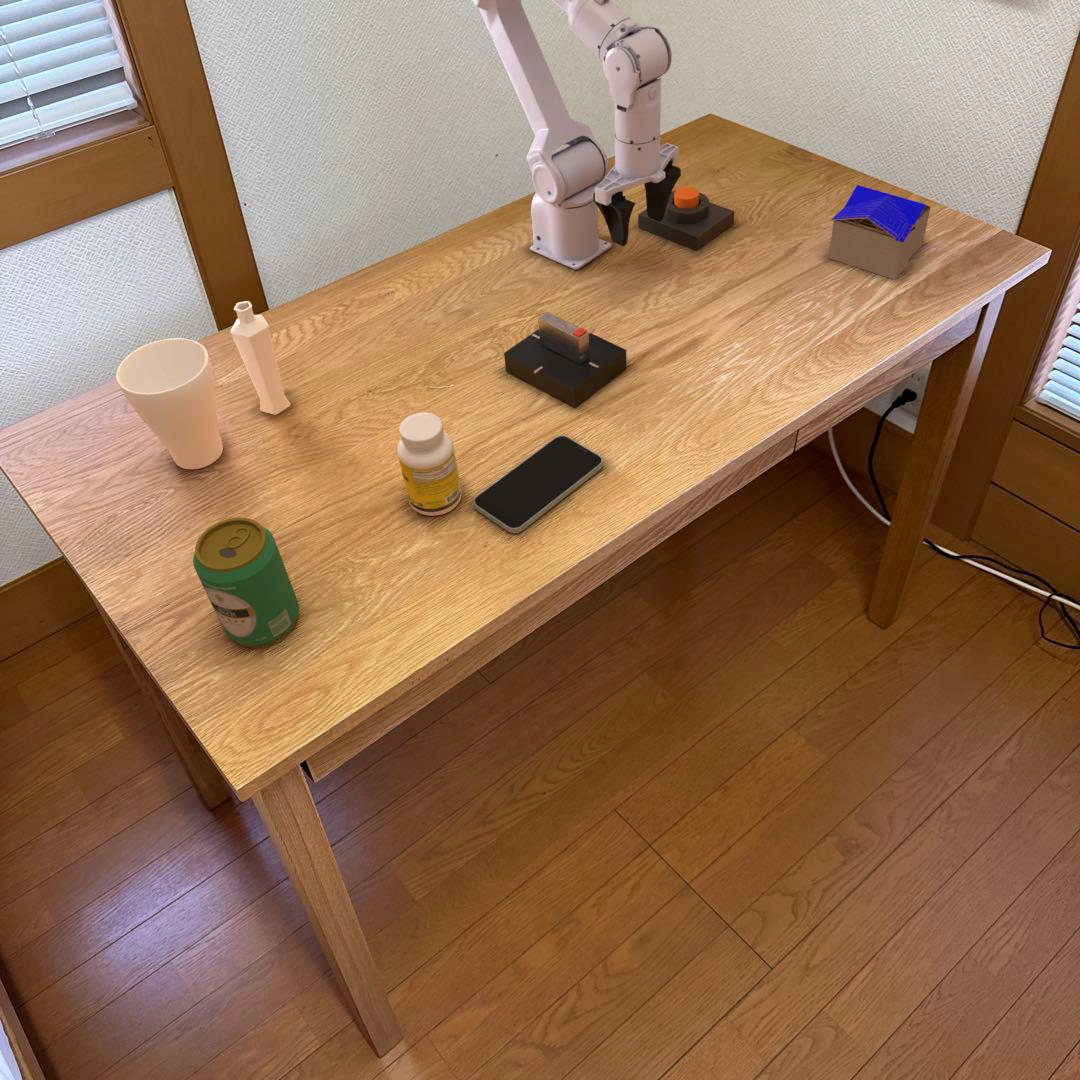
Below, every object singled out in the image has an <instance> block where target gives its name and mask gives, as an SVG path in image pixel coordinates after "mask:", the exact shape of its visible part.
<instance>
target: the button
mask: <svg viewBox="0 0 1080 1080" xmlns="http://www.w3.org/2000/svg"><path fill="white" fill-rule="evenodd" d="M675 190H676V191H675V193H674V205H675V207H678V208H680V209H692V208H696V207H697V206H698V205H699V193H700V191H699V190H698V189H697V188H695V187H692V186H684V187H679V188H677V189H675Z"/></svg>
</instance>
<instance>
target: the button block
mask: <svg viewBox="0 0 1080 1080" xmlns="http://www.w3.org/2000/svg"><path fill="white" fill-rule="evenodd" d="M676 190H677V189H673V190H672V192H671V195H670V197H669V200H668V204H667V207H666V211H665V214H664V217H663V220H662V221H661V222H658V221H656V220H653V219H651V218H648V214H647V208H646V209H644V210H642V211H641V212H640V213H638V214H637V218H638V219H637V228H638V229H641V230H644V231H646V232H649V233H651V234H653V235H656V236H660V238H664V239H666V240H669V241H671V242H674V243H676V244H678V245H681V246H683V247H686V248H689V249H690V250H694V251H699V250H700V249H702V248H703V247H705V246H706V245H707V244H709V243H710V242H711V241H714V239H716V238H717V237H718V236H720V235H721V234H723V233H724V232H725V231H727V230H728V229H729V228H731V227H732V226H733V225H734V223H735V210H732V209H730V208H727V207H724V206H722V205H719V204H717V203H713V202H711V201H710V199H709V197H707V195H706V194H705V193H702V192H699V205H698V206H697V207H696V208H692V209H680V208H678V207H675V205H674V193H675V191H676Z"/></svg>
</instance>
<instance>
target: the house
mask: <svg viewBox="0 0 1080 1080" xmlns="http://www.w3.org/2000/svg"><path fill="white" fill-rule="evenodd" d="M931 208H932V207H931V206H930V205H927V203H923V202H919V201H915V200H912V199H908V198H905V197H901V196H898V195H893V194H891V193H887V192H884V191H881V190H877V189H873V188H870V187H866V186H864V185H863V186H862V185H858V184H857V185H856V186H855V187H854V189H853V191H852V193H851V195H850V196H849V198H848V200H847V202H846V203H845V205H844V207H843V208H842V209H841V210H840V211H838V213H836V214H835V215H834V216H833V217H832V218H831V219H830V221H833V223H832V229H831V235H830V236H831V237H830V243H829V250H828V256H827V257H828V258H827V259H830V260H831V261H832V260H833V261H835V262H838V263H842V264H845V265H848V266H851V267H854V268H857V269H860V270H863V271H865V272H866V271H867V272H869V273H873V274H875V275H879V276H882V277H885V278H888V279H892V280H896V279H897V277H899V275H900V274H902V273H903V271H905V270H906V268H907V267H908V266H909V262H910V259H911V258H912V256H913V255H915V254H916V253H917V252H918V250H919V249H920V248H921V247H922V246H923V243H924V239H925V234H926V230H927V226H928V221H929V218H930V217H929V216H930V212H931Z"/></svg>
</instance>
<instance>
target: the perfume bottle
mask: <svg viewBox="0 0 1080 1080" xmlns="http://www.w3.org/2000/svg"><path fill="white" fill-rule="evenodd" d="M233 310H234V311H235V313H236V316H237V318H236V319H235V321H234V324H233V325H232V328H231V329H230V331H229V333H230V335H231V338H232V340H233V342H234V344H235V346H236V349H237V351H238V353H239V356H240V358H241V360H242V362H243V364H244V367H245V369H246V371H247V373H248V376H249V378H250V381H251V383H252V385H253V387H254V389H255V391H256V394H257V396H258V399H259V410H260V412H263V413H267V414H269V415H270V414H271V415H273V416H275V415H278V414H280V413H282V412H283V411H285V410H286V409H287V408H289V407H291V405H292V404H291V403H290V401H289V399H288V398H287V396H286V395H285V390H284V386H283V382H282V378H281V374H280V368H279V364H278V361H277V356H276V351H275V347H274V343H273V338H272V335H271V330H270V325H269V323H268V322H267V320H266V318H264V316H263V315H262V314H254V311H253V305H252V303H251V302H250V301H249V300H245V301H239V302H237V303H235V306H234V307H233Z"/></svg>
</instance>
